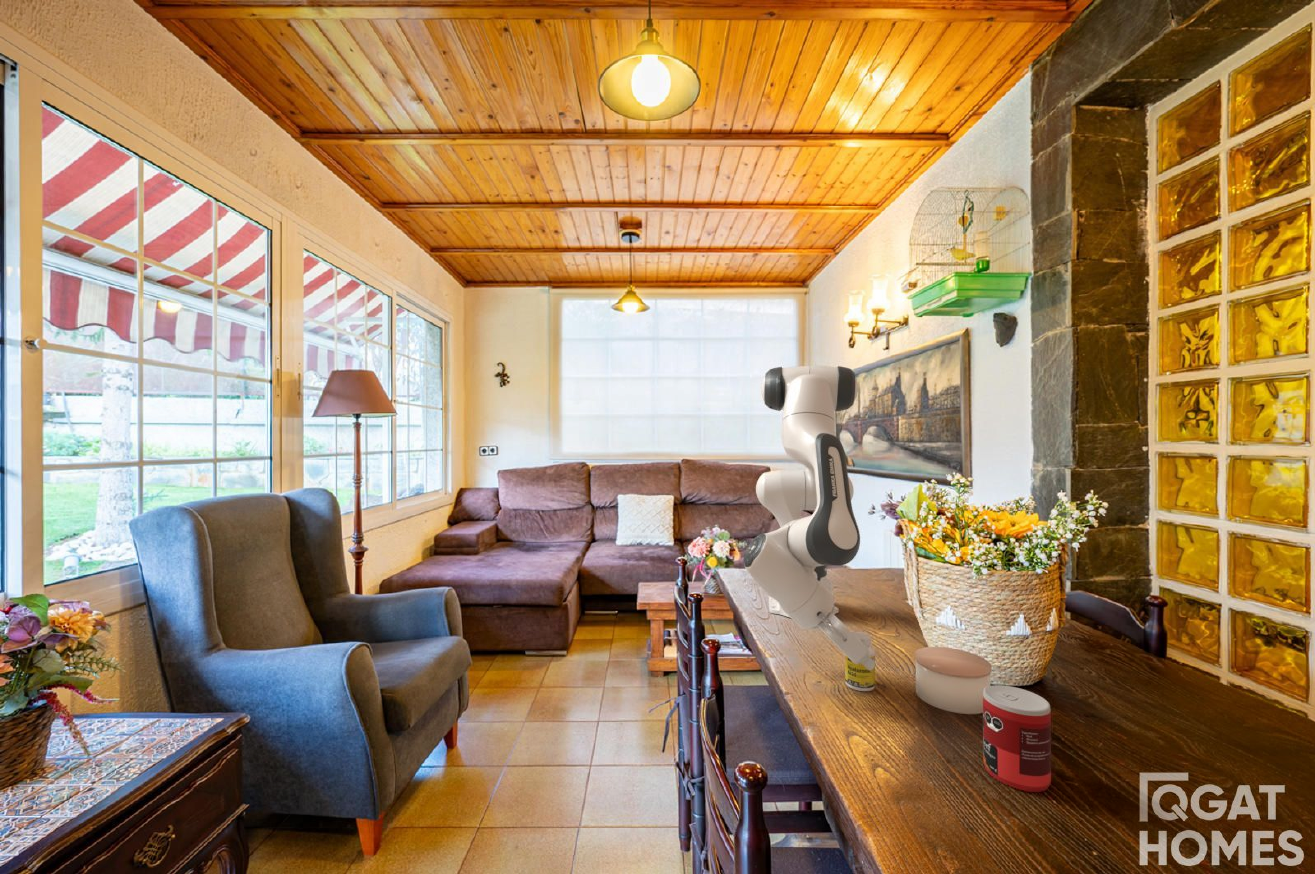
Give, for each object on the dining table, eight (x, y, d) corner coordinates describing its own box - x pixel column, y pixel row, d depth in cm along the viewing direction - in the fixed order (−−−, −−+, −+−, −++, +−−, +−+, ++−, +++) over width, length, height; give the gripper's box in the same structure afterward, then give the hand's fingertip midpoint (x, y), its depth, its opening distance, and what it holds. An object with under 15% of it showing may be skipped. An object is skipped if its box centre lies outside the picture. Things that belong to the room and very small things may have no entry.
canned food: (987, 752, 81) (987, 679, 81) (1053, 773, 76) (1052, 695, 76) (978, 777, 75) (978, 698, 75) (1049, 801, 70) (1048, 717, 70)
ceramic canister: (902, 682, 105) (902, 646, 105) (965, 682, 105) (965, 646, 105) (936, 715, 92) (936, 674, 92) (1008, 714, 93) (1007, 673, 93)
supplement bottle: (843, 688, 102) (842, 636, 102) (847, 677, 107) (847, 627, 107) (873, 694, 100) (873, 641, 100) (876, 682, 105) (876, 632, 105)
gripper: (841, 610, 93) (898, 667, 93) (807, 580, 114) (853, 626, 114) (816, 636, 93) (872, 693, 93) (786, 601, 113) (832, 647, 114)
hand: (861, 656), depth 104 cm, fingers open, 8 cm apart
